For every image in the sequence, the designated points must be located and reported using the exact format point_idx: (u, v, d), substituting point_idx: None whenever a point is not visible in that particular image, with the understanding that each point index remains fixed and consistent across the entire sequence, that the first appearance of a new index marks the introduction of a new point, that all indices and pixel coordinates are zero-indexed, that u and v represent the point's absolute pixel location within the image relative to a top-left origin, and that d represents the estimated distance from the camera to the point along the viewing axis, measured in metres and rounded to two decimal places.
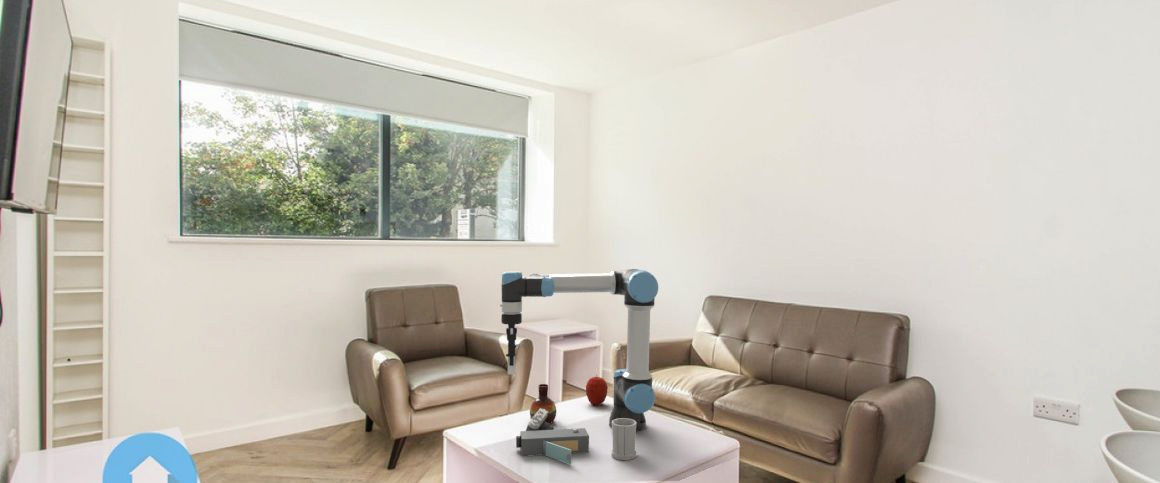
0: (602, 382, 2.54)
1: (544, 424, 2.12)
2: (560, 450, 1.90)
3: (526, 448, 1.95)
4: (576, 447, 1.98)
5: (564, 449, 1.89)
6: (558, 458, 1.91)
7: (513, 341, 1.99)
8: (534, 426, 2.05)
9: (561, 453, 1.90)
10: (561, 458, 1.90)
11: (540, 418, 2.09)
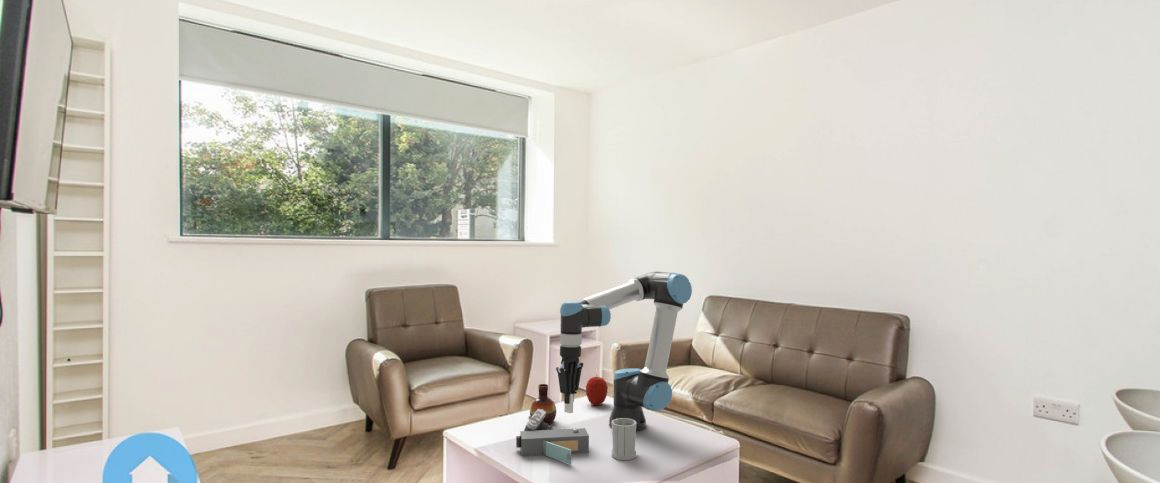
0: (602, 382, 2.54)
1: (542, 424, 2.12)
2: (560, 450, 1.90)
3: (526, 448, 1.95)
4: (576, 447, 1.98)
5: (564, 449, 1.89)
6: (558, 458, 1.91)
7: (562, 380, 1.91)
8: (532, 426, 2.05)
9: (561, 453, 1.90)
10: (561, 458, 1.90)
11: (538, 418, 2.09)
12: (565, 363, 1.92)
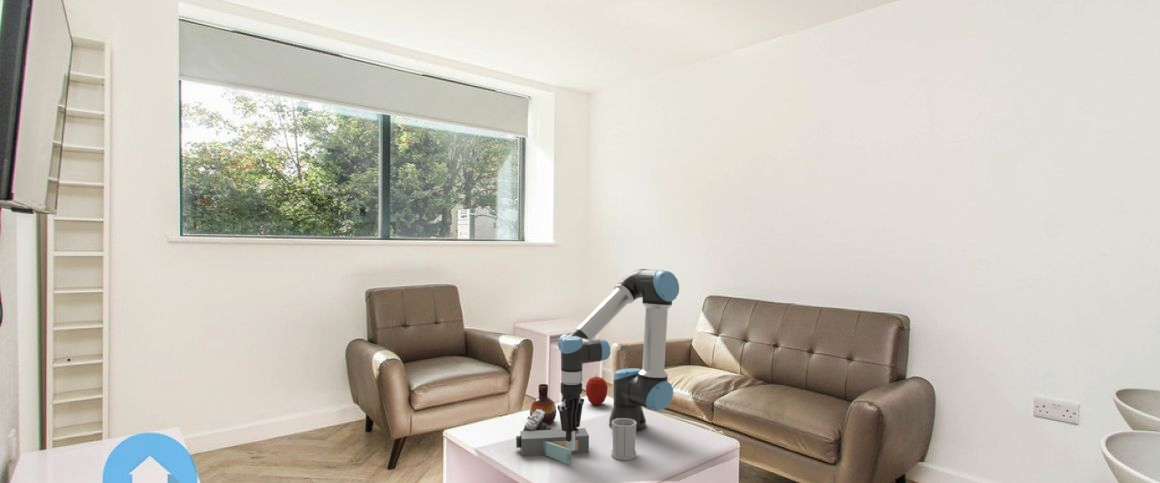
0: (602, 382, 2.54)
1: (541, 425, 2.12)
2: (560, 450, 1.90)
3: (526, 448, 1.95)
4: (576, 447, 1.98)
5: (564, 449, 1.89)
6: (558, 458, 1.91)
7: (564, 419, 1.89)
8: (531, 427, 2.04)
9: (561, 453, 1.90)
10: (561, 458, 1.90)
11: (537, 419, 2.09)
12: (566, 401, 1.90)
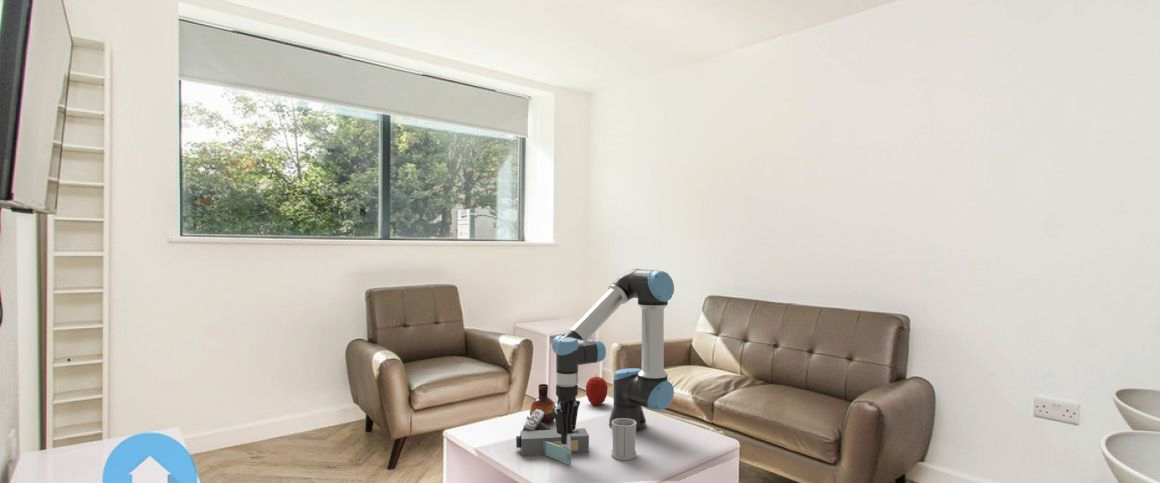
0: (602, 382, 2.54)
1: (540, 425, 2.11)
2: (560, 450, 1.90)
3: (526, 448, 1.95)
4: (576, 447, 1.98)
5: (564, 449, 1.89)
6: (558, 458, 1.91)
7: (559, 421, 1.86)
8: (530, 427, 2.04)
9: (561, 453, 1.90)
10: (561, 458, 1.90)
11: (536, 419, 2.08)
12: (562, 403, 1.87)
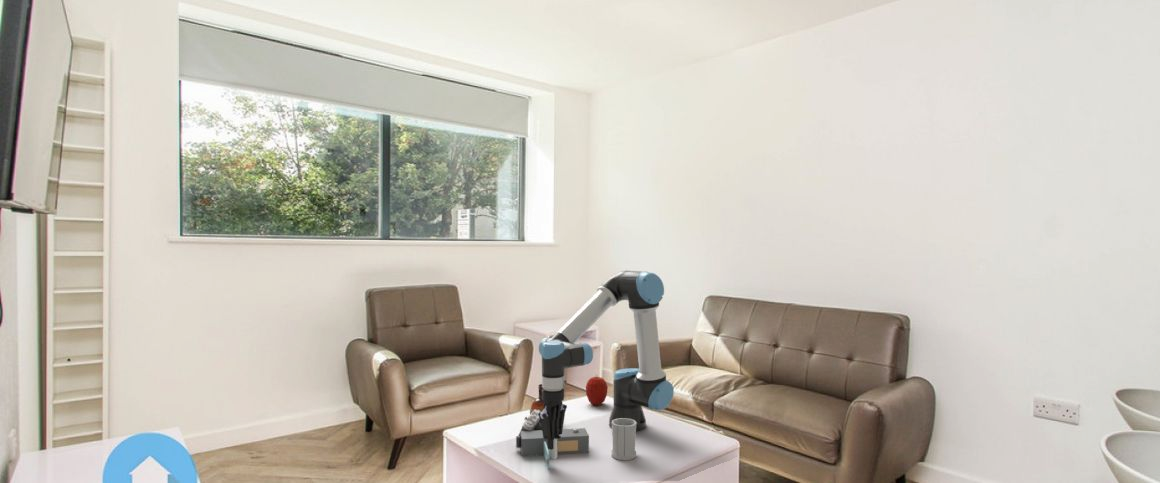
0: (602, 382, 2.54)
1: (538, 425, 2.11)
2: (546, 453, 1.88)
3: (526, 448, 1.95)
4: (576, 447, 1.98)
5: (546, 452, 1.86)
6: None
7: (545, 426, 1.83)
8: (529, 427, 2.04)
9: (546, 456, 1.87)
10: None
11: (534, 419, 2.08)
12: (548, 408, 1.83)
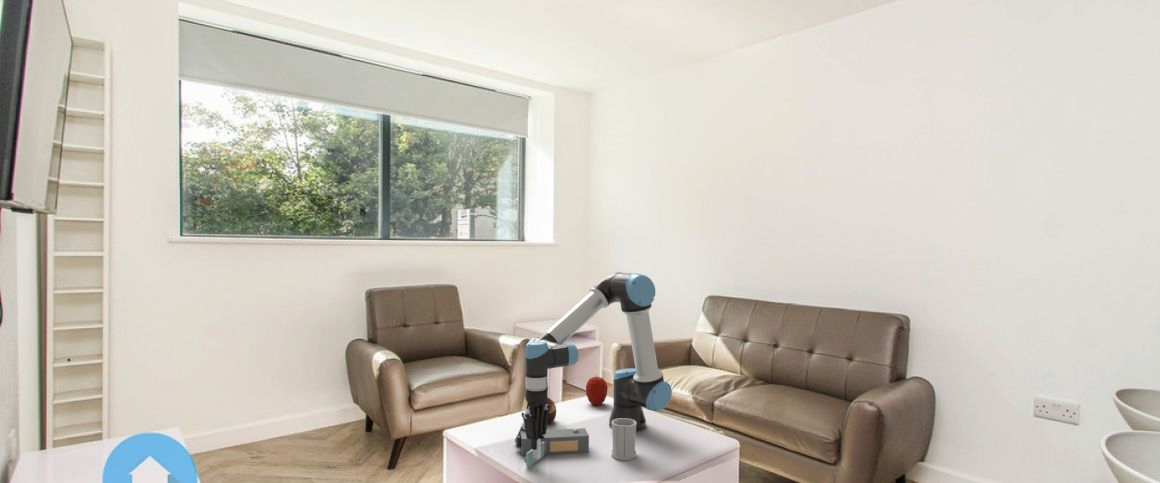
0: (602, 382, 2.54)
1: None
2: None
3: (526, 448, 1.95)
4: (576, 447, 1.98)
5: None
6: None
7: (528, 426, 1.82)
8: None
9: None
10: None
11: None
12: (531, 408, 1.83)
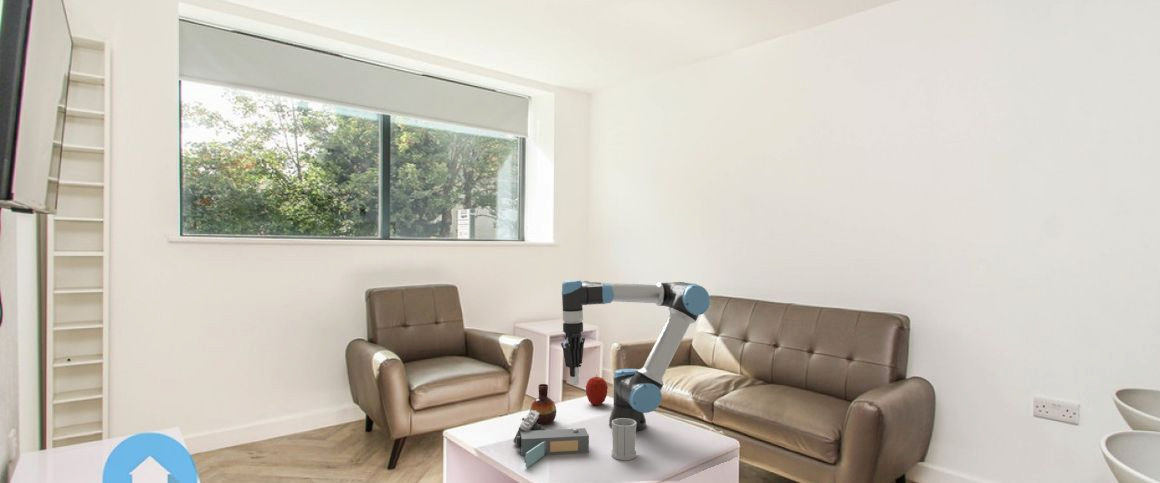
0: (602, 382, 2.54)
1: (536, 426, 2.10)
2: None
3: (526, 448, 1.95)
4: (576, 447, 1.98)
5: None
6: None
7: (568, 355, 2.03)
8: (526, 428, 2.03)
9: None
10: None
11: (532, 420, 2.07)
12: (569, 338, 2.03)
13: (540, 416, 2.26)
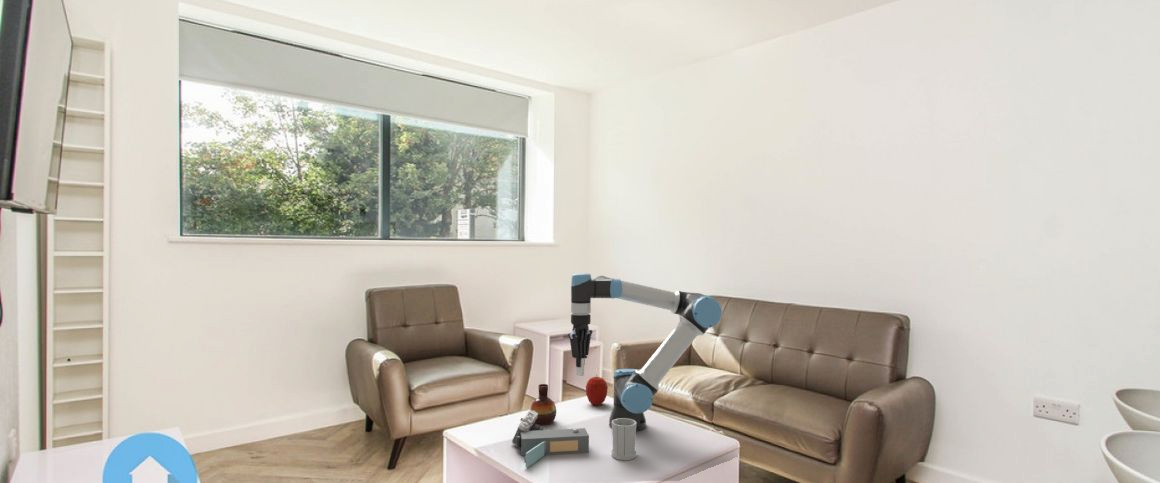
0: (602, 382, 2.54)
1: (534, 426, 2.10)
2: None
3: (526, 448, 1.95)
4: (576, 447, 1.98)
5: None
6: None
7: (574, 346, 2.08)
8: (524, 428, 2.03)
9: None
10: None
11: (530, 420, 2.07)
12: (576, 330, 2.09)
13: (540, 416, 2.26)
